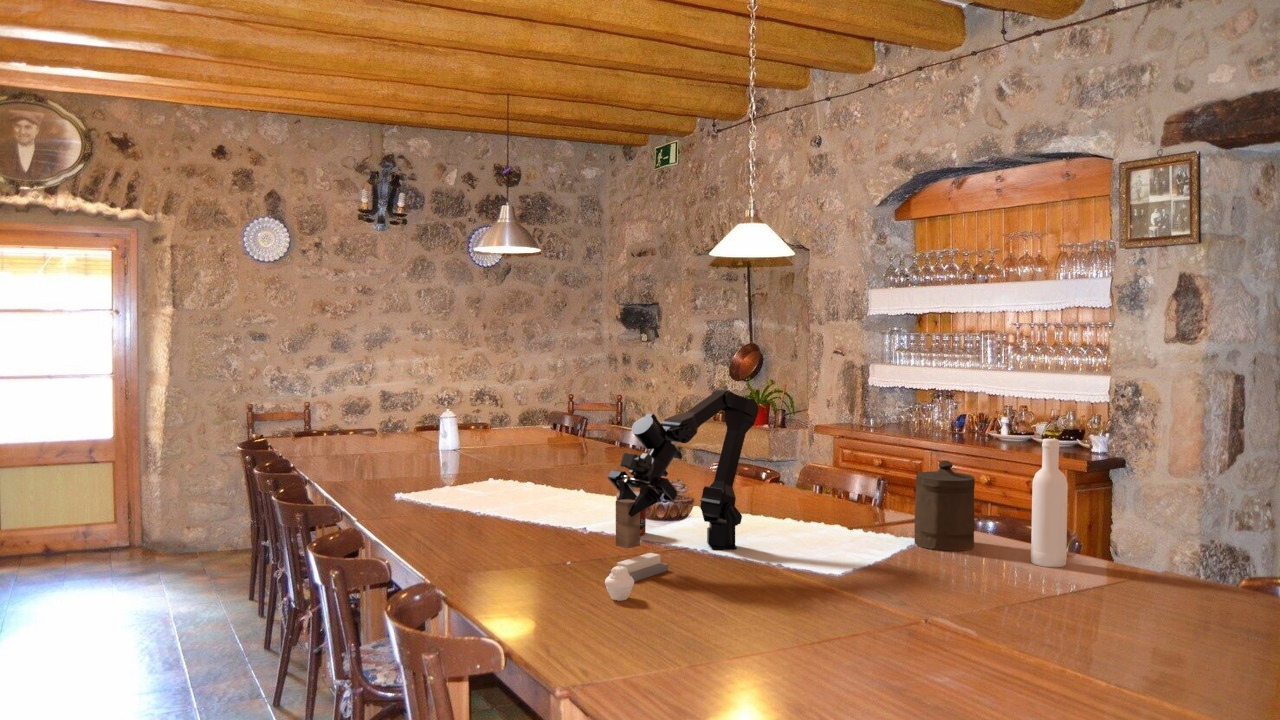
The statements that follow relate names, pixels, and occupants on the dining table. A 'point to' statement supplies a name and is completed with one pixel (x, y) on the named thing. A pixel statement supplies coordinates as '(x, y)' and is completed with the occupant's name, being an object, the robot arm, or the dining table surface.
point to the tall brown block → (627, 525)
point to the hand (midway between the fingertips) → (623, 514)
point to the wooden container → (944, 509)
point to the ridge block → (643, 566)
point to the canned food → (642, 516)
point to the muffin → (619, 583)
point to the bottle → (1049, 510)
